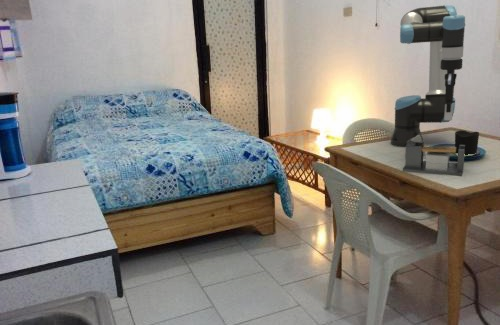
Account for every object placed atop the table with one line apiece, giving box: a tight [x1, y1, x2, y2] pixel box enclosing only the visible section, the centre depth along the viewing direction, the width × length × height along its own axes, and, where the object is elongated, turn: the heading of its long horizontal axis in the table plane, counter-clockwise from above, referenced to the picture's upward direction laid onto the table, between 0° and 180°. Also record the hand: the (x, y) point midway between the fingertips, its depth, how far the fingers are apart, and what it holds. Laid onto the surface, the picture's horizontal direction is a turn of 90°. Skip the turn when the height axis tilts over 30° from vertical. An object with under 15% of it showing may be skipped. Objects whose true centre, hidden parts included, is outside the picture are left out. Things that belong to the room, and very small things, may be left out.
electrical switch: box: [406, 135, 426, 156], centre depth 196 cm, size 9×5×9 cm, turn 141°
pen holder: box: [454, 129, 480, 155], centre depth 193 cm, size 9×9×10 cm
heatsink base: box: [402, 141, 465, 177], centre depth 178 cm, size 22×13×10 cm, turn 63°
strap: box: [422, 146, 456, 153], centre depth 177 cm, size 15×4×1 cm, turn 63°
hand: (448, 119), depth 172 cm, fingers closed
